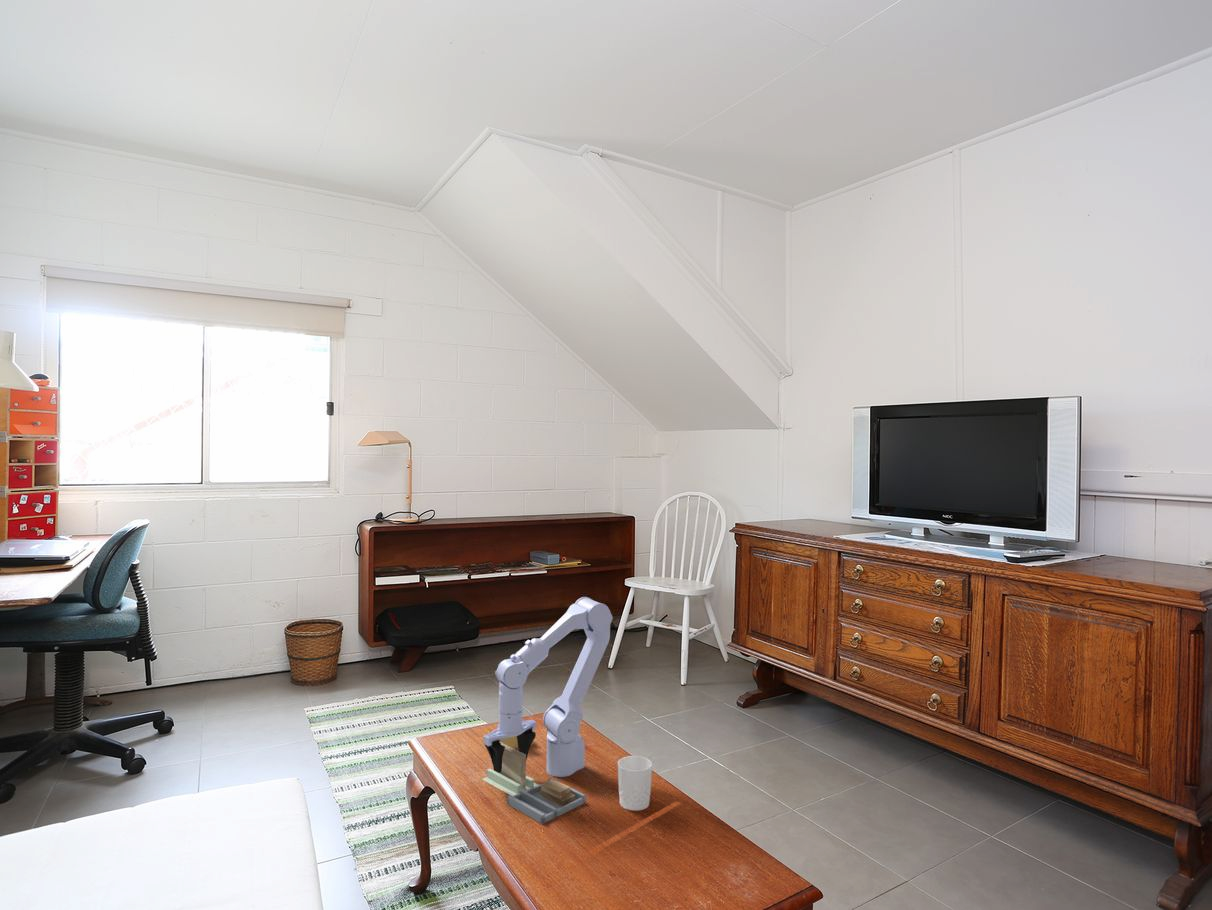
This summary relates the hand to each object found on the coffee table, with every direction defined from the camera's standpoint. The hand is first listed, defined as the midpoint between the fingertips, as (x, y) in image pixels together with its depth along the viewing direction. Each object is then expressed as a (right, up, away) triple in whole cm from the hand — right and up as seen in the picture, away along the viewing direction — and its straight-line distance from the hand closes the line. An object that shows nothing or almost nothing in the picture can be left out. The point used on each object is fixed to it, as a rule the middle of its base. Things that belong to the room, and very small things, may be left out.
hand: (510, 766), depth 172 cm
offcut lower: (+12, -4, -8) cm, 15 cm away
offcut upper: (+12, -3, -7) cm, 14 cm away
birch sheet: (0, -4, 0) cm, 4 cm away
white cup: (+30, -5, -9) cm, 32 cm away
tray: (+10, -5, -10) cm, 15 cm away
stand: (0, -5, 0) cm, 5 cm away
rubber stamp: (-2, -5, +23) cm, 24 cm away
